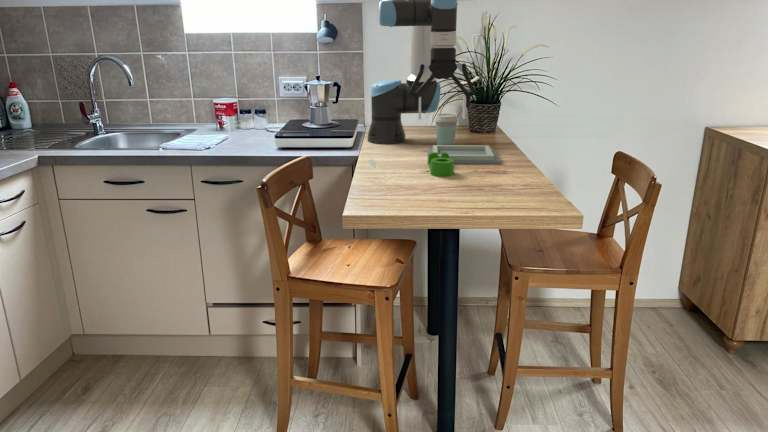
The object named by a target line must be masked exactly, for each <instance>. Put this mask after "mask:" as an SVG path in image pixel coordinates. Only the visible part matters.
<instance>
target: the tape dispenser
mask: <svg viewBox="0 0 768 432" xmlns="http://www.w3.org/2000/svg"><path fill="white" fill-rule="evenodd" d="M427 165H428V169H429V172H430V173H429V174H430V175H431V176H433V177H438V178H439V177H440V178H446V177H452V176H453V175H454V170H455V169H454V165H455V164H454V160H453V159H450V158H449V155H448V153H447V152H441V158H438V153H437V152H431V153H429V155H428V161H427Z"/></svg>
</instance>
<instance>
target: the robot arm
mask: <svg viewBox="0 0 768 432" xmlns="http://www.w3.org/2000/svg"><path fill="white" fill-rule="evenodd" d="M458 4H459V2H458V0H381V1H379V3H378V23H379V25H380V26H381V27H389V28H392V27H410V73H409V75H408V76H407V77H406V83H405V82H404V83H403V82H402V80H401V79H387V80H382V81H377V82H375V83H373V84H372V85H371V87H370V88H371V89H370V91H371V92H370V97H371V98H370V99H371V100H370V101H371V109H370V110H371V122H370V125H369V129H368V132H367V142H369V143H372V144H381V145H382V144H383V145H387V144H388V145H389V144H399V143H403V142H405V141H406V133H405V129H404V127H403V126H404V125H403V123H402V114H418V120H422V114H429V113H435V112H436V111H437V110H438V107H439V104H440V99H441V84H440V83H439V82H438V81H437V80H443V79H444V80H448V79H450V78H451V79H452V81H454V83H455V84H456V86H458V88H459V89H460V90H461V91H462V93H463V94H464V95H465V96H462V120H466V117H467V116H466V115H467V114H466V113H467V109H468V108H470V105H471V97H473V96H475V95H476V94H477V92H476V89H475V87H474V84H473V82H472V80H471V78H470V76H469V74H468V71H467V65H466V63H463V62H462V63H461V64H457V63H456V60H457V59H456V57H457V56H456V55H457V53H456V52H457V49H456V47H455V46H456V45H457V19H458V17H457V15H458V14H457V13H458ZM457 69H458V70H459V71H460V72H462V75H463V78H464V79H465V82H466V84H467V86H468V89H469V90H470V91H468V90H467V88H466V87H465V86H464V85H463V84H462V82H461V81H460V80H459V79H458V77H457V76H456V75H455V72H456V71H457Z"/></svg>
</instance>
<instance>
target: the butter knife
mask: <svg viewBox="0 0 768 432" xmlns="http://www.w3.org/2000/svg"><path fill="white" fill-rule="evenodd" d="M373 160H374V159H370V158H369V159H368V163H369V164H370V166H372V165H373V167H374V168H376V167H377V166H376V167H375V165H376V162H375V163H374V161H375V160H374V161H373ZM373 167H372V168H373ZM374 168H373V169H374Z"/></svg>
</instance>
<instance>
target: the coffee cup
mask: <svg viewBox="0 0 768 432" xmlns="http://www.w3.org/2000/svg"><path fill="white" fill-rule="evenodd" d="M458 121H459V120H458V117H457V114H454V113H439V114H436V115H435V117H434V122H435V131H436V141H437V145H455V138H456V131H457V125H458Z"/></svg>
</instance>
